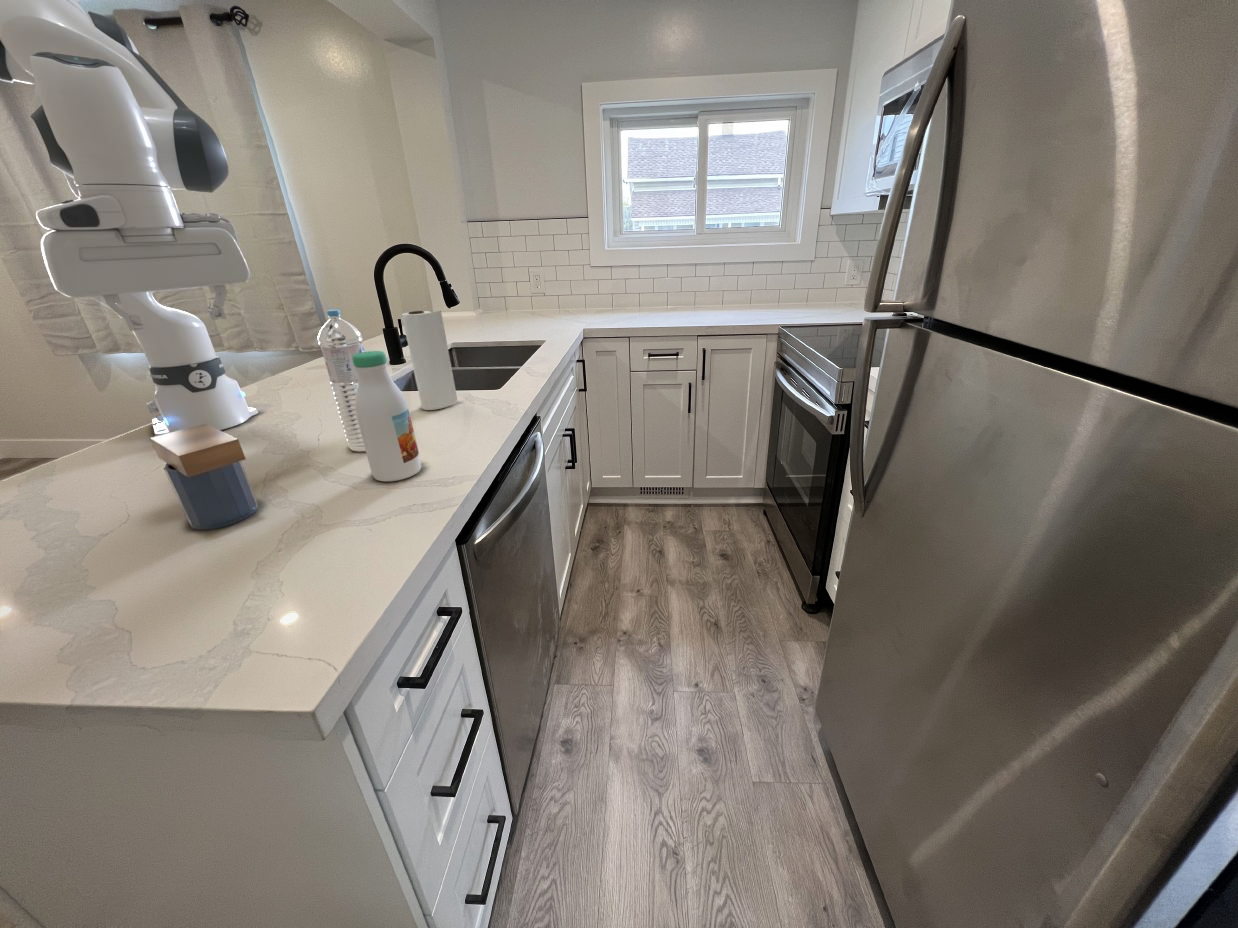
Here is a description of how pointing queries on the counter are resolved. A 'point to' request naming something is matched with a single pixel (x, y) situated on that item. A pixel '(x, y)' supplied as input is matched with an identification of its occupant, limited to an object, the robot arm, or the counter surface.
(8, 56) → the robot arm
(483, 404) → the counter surface
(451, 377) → the paper towel roll
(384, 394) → the milk bottle
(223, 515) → the cup
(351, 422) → the water bottle
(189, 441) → the wooden block
